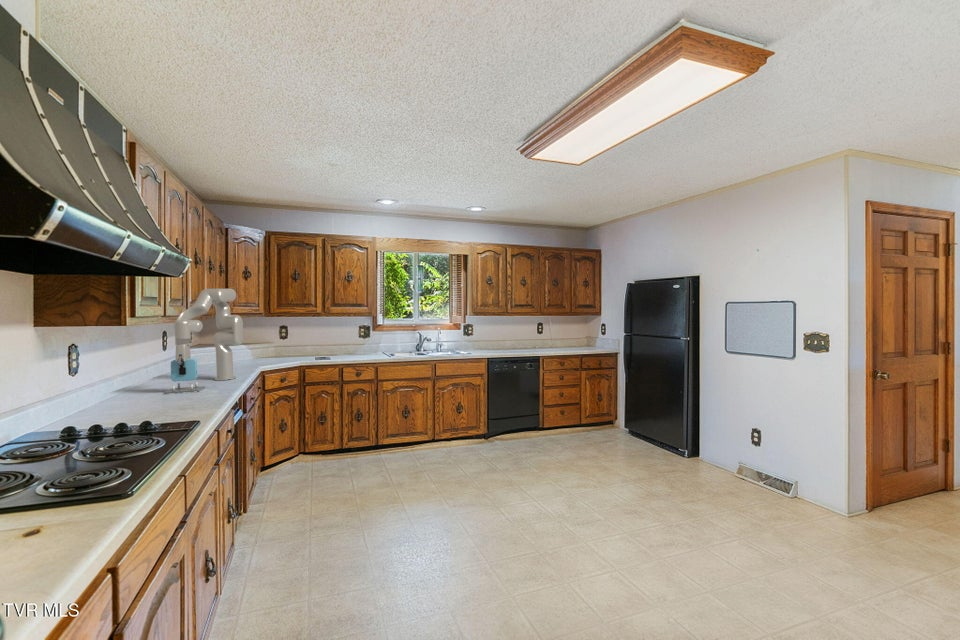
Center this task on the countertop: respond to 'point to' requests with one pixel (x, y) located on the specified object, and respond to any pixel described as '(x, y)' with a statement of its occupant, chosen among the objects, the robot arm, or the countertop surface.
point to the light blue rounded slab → (190, 370)
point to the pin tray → (185, 388)
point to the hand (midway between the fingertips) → (184, 373)
